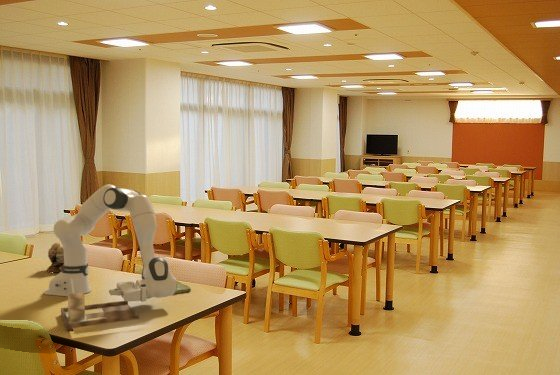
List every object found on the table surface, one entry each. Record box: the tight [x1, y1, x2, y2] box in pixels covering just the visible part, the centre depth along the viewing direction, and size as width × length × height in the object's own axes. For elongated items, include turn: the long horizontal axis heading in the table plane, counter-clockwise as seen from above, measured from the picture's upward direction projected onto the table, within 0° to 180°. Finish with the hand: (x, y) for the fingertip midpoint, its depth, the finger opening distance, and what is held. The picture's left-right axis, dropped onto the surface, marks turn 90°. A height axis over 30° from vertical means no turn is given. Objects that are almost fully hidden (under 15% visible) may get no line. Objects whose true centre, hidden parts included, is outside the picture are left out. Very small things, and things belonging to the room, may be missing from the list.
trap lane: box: [60, 300, 140, 332], centre depth 249 cm, size 29×24×3 cm
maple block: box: [67, 292, 86, 321], centre depth 245 cm, size 6×6×10 cm
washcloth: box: [173, 280, 192, 295], centre depth 296 cm, size 13×18×3 cm
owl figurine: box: [46, 242, 64, 274], centre depth 335 cm, size 18×12×17 cm, turn 45°
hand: (109, 292), depth 251 cm, fingers closed
